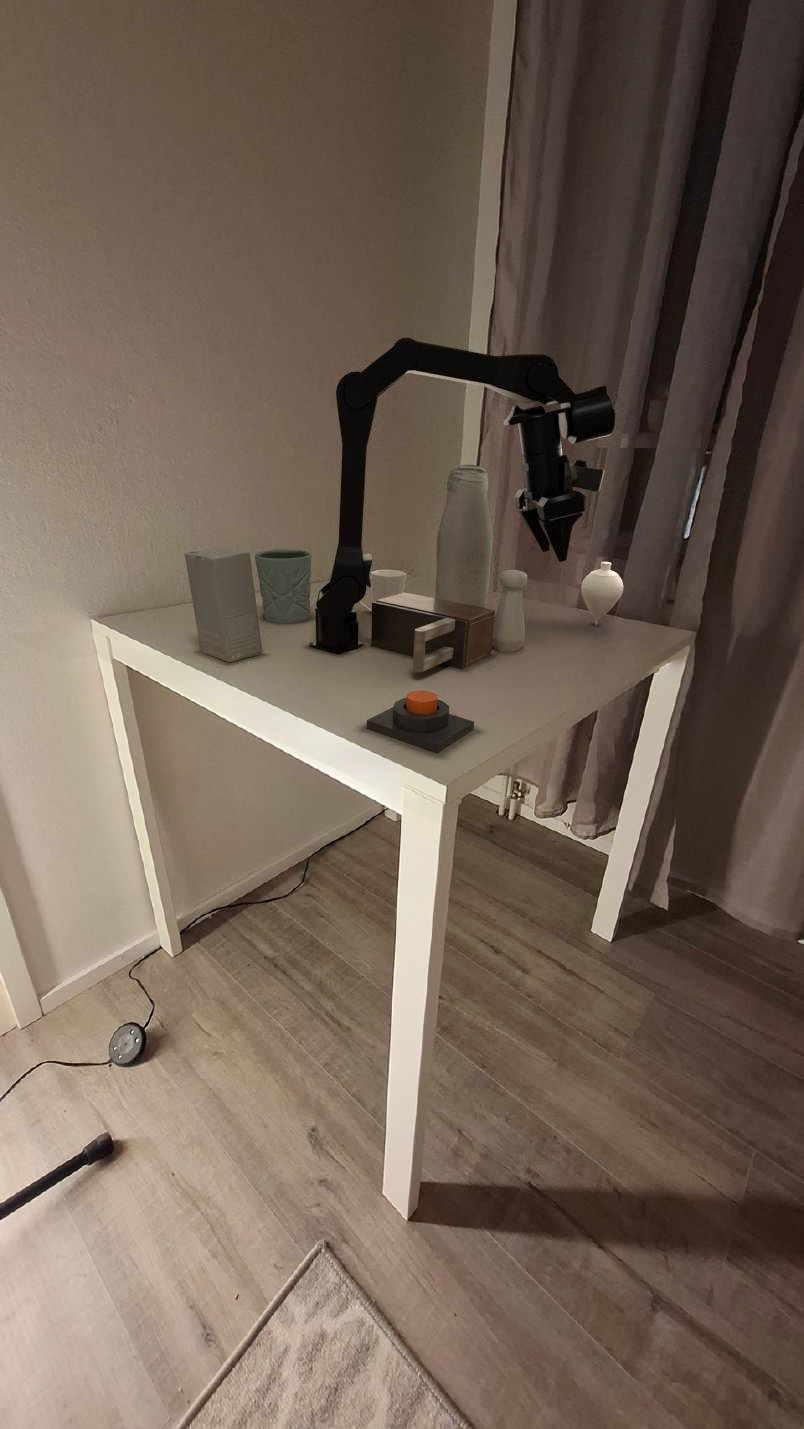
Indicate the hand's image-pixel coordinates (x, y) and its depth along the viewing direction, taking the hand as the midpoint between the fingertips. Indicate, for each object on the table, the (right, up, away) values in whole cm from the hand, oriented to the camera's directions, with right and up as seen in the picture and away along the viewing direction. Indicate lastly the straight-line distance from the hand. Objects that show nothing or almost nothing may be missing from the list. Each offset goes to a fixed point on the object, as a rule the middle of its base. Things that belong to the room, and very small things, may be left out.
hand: (553, 556), depth 98 cm
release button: (-22, -25, -26) cm, 42 cm away
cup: (-28, -5, +24) cm, 38 cm away
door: (-25, -17, -3) cm, 30 cm away
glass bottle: (-13, -7, +22) cm, 27 cm away
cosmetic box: (-51, -16, -1) cm, 54 cm away
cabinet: (-19, -15, +4) cm, 24 cm away
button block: (-22, -27, -25) cm, 43 cm away
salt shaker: (-7, -14, +6) cm, 17 cm away
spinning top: (+14, -8, +22) cm, 27 cm away
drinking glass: (-46, -7, +19) cm, 51 cm away
